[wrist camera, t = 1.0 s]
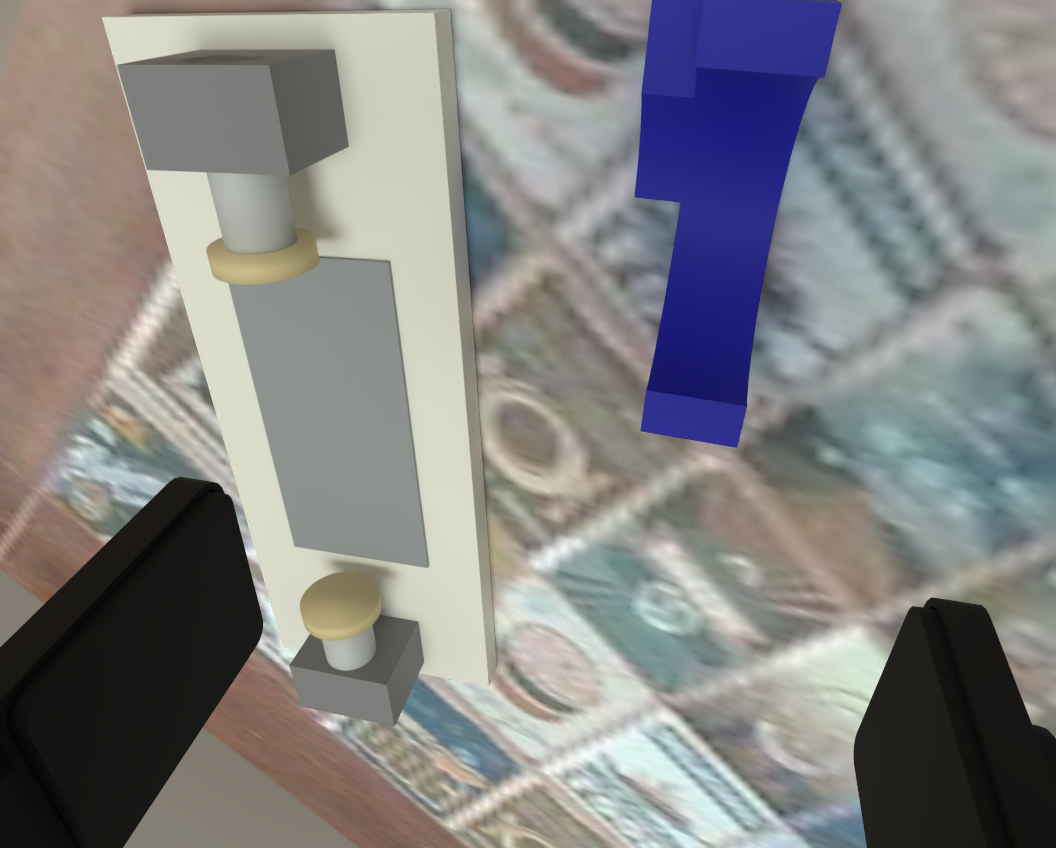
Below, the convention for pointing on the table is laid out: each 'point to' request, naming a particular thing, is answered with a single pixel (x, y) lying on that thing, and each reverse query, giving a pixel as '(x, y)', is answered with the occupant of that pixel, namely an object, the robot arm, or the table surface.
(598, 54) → the table surface
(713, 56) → the blue cradle bracket
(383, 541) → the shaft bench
